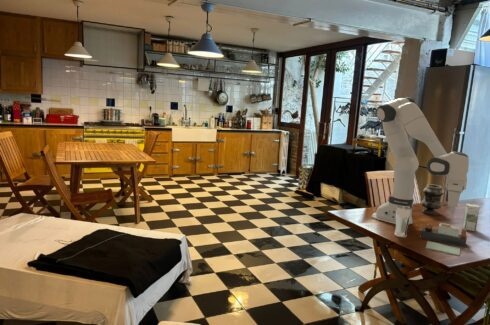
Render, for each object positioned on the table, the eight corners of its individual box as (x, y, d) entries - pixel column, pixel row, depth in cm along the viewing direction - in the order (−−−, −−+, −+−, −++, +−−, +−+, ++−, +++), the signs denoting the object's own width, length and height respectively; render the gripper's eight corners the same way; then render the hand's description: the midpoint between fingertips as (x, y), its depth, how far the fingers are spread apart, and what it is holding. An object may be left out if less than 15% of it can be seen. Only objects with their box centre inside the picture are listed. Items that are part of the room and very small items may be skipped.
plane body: (420, 237, 186) (422, 222, 184) (421, 233, 192) (423, 219, 190) (465, 247, 175) (467, 231, 174) (465, 243, 181) (468, 228, 180)
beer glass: (395, 232, 192) (399, 204, 190) (409, 235, 188) (413, 207, 186) (391, 235, 187) (394, 207, 185) (405, 238, 183) (409, 210, 180)
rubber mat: (425, 248, 171) (425, 247, 171) (427, 242, 180) (427, 241, 180) (459, 256, 164) (459, 254, 164) (460, 249, 172) (460, 248, 172)
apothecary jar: (439, 216, 226) (444, 188, 223) (418, 212, 232) (422, 185, 229) (441, 212, 236) (445, 185, 233) (420, 208, 242) (424, 182, 240)
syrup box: (473, 228, 205) (477, 204, 203) (475, 232, 200) (479, 206, 197) (462, 227, 207) (466, 202, 205) (464, 230, 202) (468, 205, 199)
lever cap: (437, 233, 182) (439, 224, 181) (438, 230, 186) (439, 221, 185) (458, 237, 177) (459, 228, 176) (458, 234, 181) (460, 225, 181)
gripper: (449, 180, 188) (446, 206, 190) (447, 187, 171) (443, 215, 173) (464, 182, 184) (460, 208, 186) (462, 189, 167) (458, 217, 169)
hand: (452, 211), depth 179 cm, fingers open, 8 cm apart
